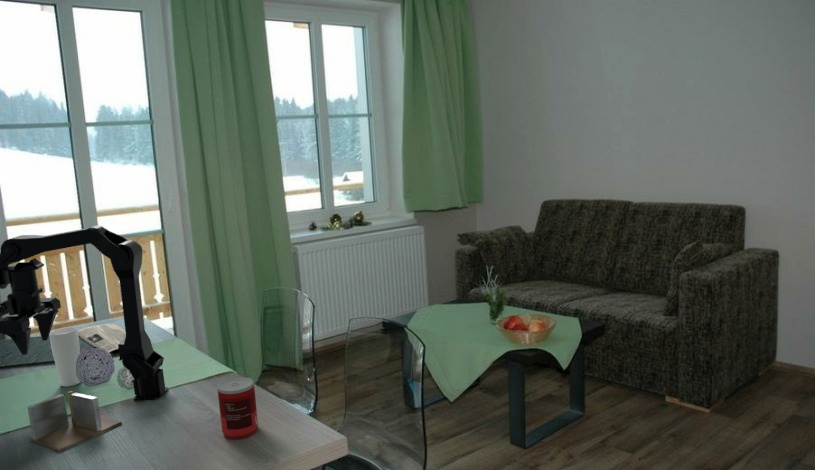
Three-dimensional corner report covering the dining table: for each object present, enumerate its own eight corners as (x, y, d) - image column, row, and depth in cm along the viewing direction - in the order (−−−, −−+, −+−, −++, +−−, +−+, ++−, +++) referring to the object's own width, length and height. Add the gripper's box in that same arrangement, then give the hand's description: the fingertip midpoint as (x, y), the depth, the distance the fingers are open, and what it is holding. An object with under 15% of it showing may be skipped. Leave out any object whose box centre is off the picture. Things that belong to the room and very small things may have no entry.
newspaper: (76, 336, 221) (75, 326, 221) (114, 327, 230) (113, 318, 229) (109, 359, 195) (107, 348, 195) (150, 348, 203) (149, 338, 203)
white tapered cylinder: (73, 388, 172) (65, 334, 169) (51, 388, 173) (43, 334, 171) (90, 379, 178) (82, 327, 176) (69, 378, 180) (61, 326, 177)
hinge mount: (91, 414, 155) (86, 380, 153) (121, 424, 148) (116, 388, 147) (30, 440, 143) (24, 403, 141) (59, 452, 136) (53, 414, 135)
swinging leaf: (75, 425, 147) (70, 394, 146) (80, 423, 148) (75, 392, 147) (97, 431, 143) (92, 399, 142) (102, 428, 144) (97, 397, 143)
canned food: (243, 420, 147) (238, 374, 145) (266, 429, 141) (261, 381, 140) (214, 433, 141) (209, 386, 139) (237, 443, 136) (231, 394, 134)
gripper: (14, 278, 167) (24, 335, 170) (-34, 300, 148) (-21, 363, 152) (57, 276, 167) (66, 333, 170) (15, 298, 149) (26, 361, 152)
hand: (35, 347), depth 161 cm, fingers open, 9 cm apart
